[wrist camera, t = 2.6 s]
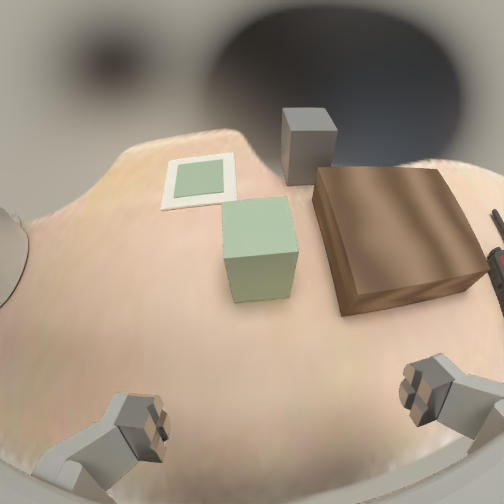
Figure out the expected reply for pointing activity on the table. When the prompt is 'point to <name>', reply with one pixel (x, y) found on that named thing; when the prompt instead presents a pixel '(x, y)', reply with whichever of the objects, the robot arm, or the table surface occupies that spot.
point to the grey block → (306, 144)
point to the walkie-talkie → (497, 265)
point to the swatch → (199, 181)
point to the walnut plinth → (394, 237)
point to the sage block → (259, 248)
